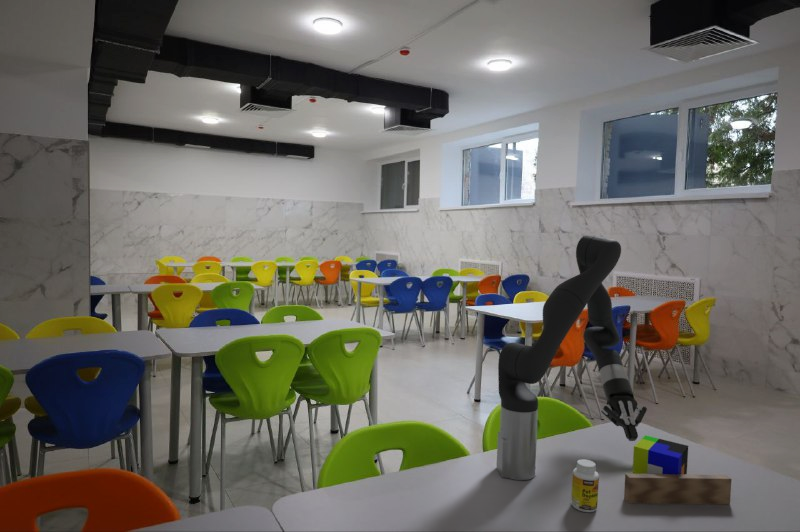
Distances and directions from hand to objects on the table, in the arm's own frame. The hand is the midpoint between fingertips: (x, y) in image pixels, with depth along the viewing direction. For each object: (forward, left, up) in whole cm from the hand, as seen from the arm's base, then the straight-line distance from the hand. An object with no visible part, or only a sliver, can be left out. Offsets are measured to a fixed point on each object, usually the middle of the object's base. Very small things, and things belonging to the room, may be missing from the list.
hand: (633, 439), depth 143 cm
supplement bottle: (-23, -25, -6) cm, 35 cm away
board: (0, -22, -6) cm, 23 cm away
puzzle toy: (0, -14, -6) cm, 15 cm away
